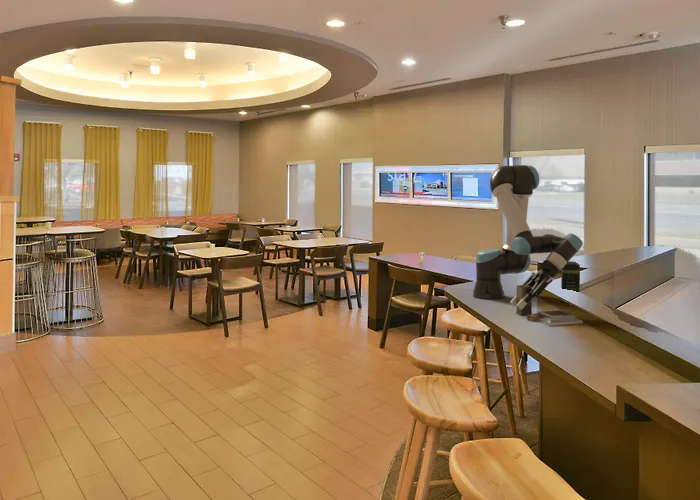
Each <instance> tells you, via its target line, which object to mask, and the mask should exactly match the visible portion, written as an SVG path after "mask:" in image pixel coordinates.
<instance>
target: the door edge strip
mask: <svg viewBox="0 0 700 500" xmlns="http://www.w3.org/2000/svg"><path fill="white" fill-rule="evenodd" d="M526 317H527V319H526V321H528V322H529V321H530V322H535V321H537V320H536V318H539V317H540V314H538V312H537V313H536V312H535V313H532V314H531V315H526Z"/></svg>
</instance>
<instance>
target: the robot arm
mask: <svg viewBox="0 0 700 500" xmlns="http://www.w3.org/2000/svg"><path fill="white" fill-rule="evenodd" d="M539 185H540V175H539V171H538V170H537V169H536V167H534V166H532V165H529V164H528V165H526V164H521V165H519V164H518V165H501V166H499V167H498V168H496V169H495V170H494V172H493V173H492V174H491V176H490V179H489V188H490V191H491V193H492V196H493V197H494V198H496V199H497V202H498V204H499V206H500V208H501V211H502V213H503V216H504V217H505V220H506V222H507V229H506V238H505V239H506V240H505V244H503V245H502V249H500V248H487V249H482V250H480V251H478V252H477V253H476V258H475V264H476V265H475V266H476V267H475V268H476V270H475V271H476V274H475V275H476V277H475V278H476V281H475V285H474V289H473V291H472V296H473V297H474V298H477V299H483V300H484V299H486V300H491V299H492V300H494V299H496V300H497V299H502V298H505V291H504V289H503V285H502V281H501V277H502V275H510V274H511V275H513V274H514V275H517V274H521V273H525V272H527V271H528V270H529V268H530V265H531V256H530V255H532V254H548V256H546V258H545V259H544V260H543V261H542V262H541V263H540V265H539V270H538V271H537V272H534V271H532V272H531V274H530V275H529V276H528V277H527V279H526V280H525V281H524V282H522V284H521V285H528V286H531V287H532V289H531V291H530V292H527V293H528V294H526V295H525V296H524V297H523V298H522V300H521V301H520V302H519V303H518V304H517V306H518V307H519V308H520V309H521V310H522V309H523V308H524V307H525V305H526V304H527V303H528V302H529V301H530V300H531V299H532V300H533V299H534V298H538V297H539V296H540V295H541V294H542V293H543V292H544V291H545V289H546V288H547V287H548V286H549V285H550V284H551V283H552V282H553V279H552V278H555V277H556V276H557V275H558V274H559V273H560V271H562V268H563V267H564V266H565V265H566V263H567V262H568V261H571V260H572V258H573V257H574V256H575V255H576V254H577V253H578V252H579V251H580V249H581V248H582V247H583V245H584V244H583V243H584V242H583V240H582V239H581V238H580V237H579V236H577V234H575V233H568V234H567V235H566V236H565V237H562V236H557V235H554V234H552V233H551V234H548V233H546V234H542V235H537V236H536V235H535V236H534V234H533V233H532V231H531V228H530V226H529V224H528V222H527V218H528V209H529V208H528V207H529V199H530V198H531V196H532V195H533V193H534V192H533V191H534V190H536V189H537V188H538V186H539ZM509 303H510V304H511V305H512V306H513V307H514V308H515V307H516V295H515V296H514V297H512V299H511V300H510V302H509Z"/></svg>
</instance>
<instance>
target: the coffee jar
mask: <svg viewBox="0 0 700 500" xmlns="http://www.w3.org/2000/svg"><path fill="white" fill-rule="evenodd" d="M580 284H581V265H580V263H578V262H576V261H571V260H569V261H568V262H567V263H566V265H565V266H564V267H563V268H562V269H561V286H560V287H561V288H562V289H567V290H573V291H576V292H580V290H581V289H580V288H581V287H580V286H581V285H580Z"/></svg>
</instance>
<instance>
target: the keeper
mask: <svg viewBox="0 0 700 500" xmlns="http://www.w3.org/2000/svg"><path fill="white" fill-rule="evenodd" d="M537 313H538V314H540V317H539V318H536V321H537V322H539V323H541V324H544V325H546V326H547V327H554V326H565V325H567V326H568V325H569V324H570V325H583V322H584V321H583V320H581V319H578V318H576V315H575V314H573V313H570V312H568V311H565V310H562V309H551V310H539V311H537Z"/></svg>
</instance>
